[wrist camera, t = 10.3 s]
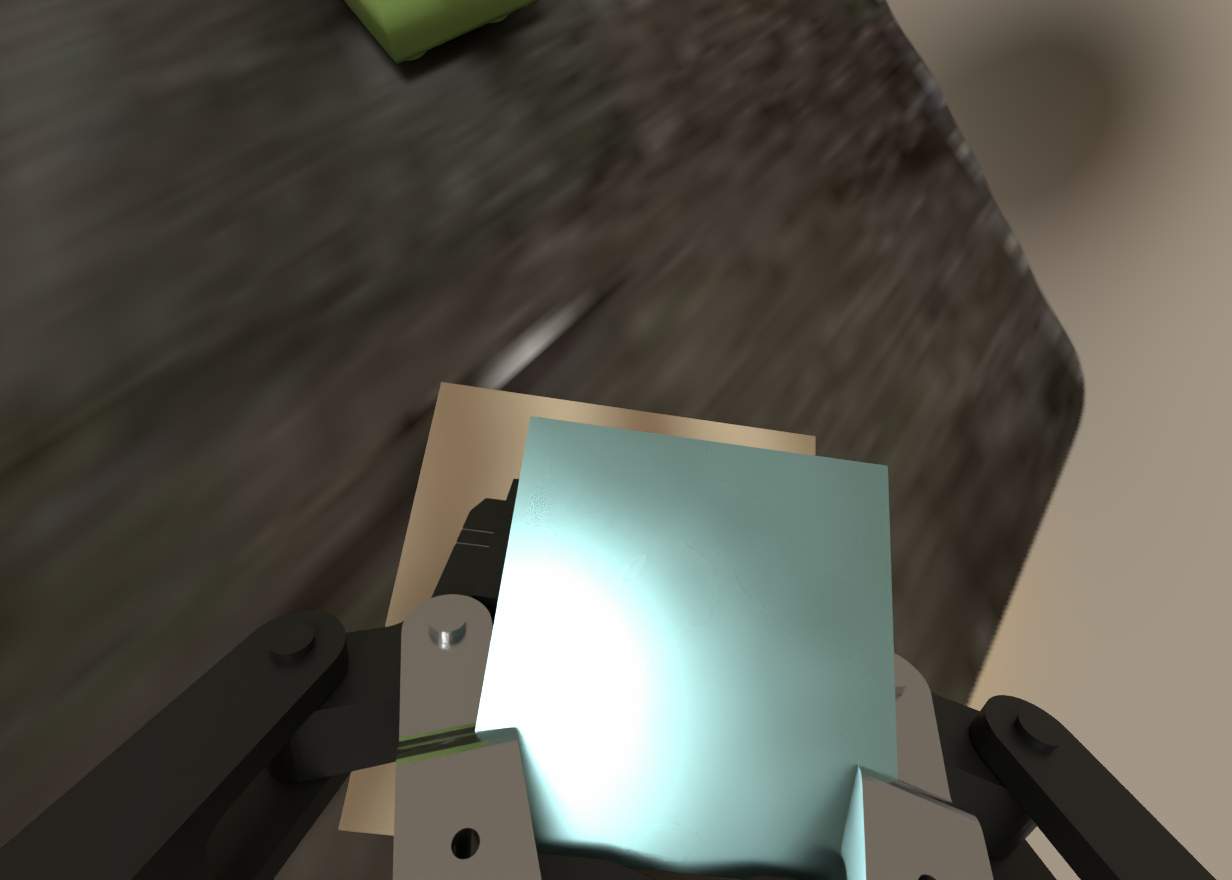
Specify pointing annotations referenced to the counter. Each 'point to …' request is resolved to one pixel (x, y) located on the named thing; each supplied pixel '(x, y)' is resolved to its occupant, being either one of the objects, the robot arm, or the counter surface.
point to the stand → (485, 468)
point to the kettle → (427, 21)
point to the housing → (693, 650)
